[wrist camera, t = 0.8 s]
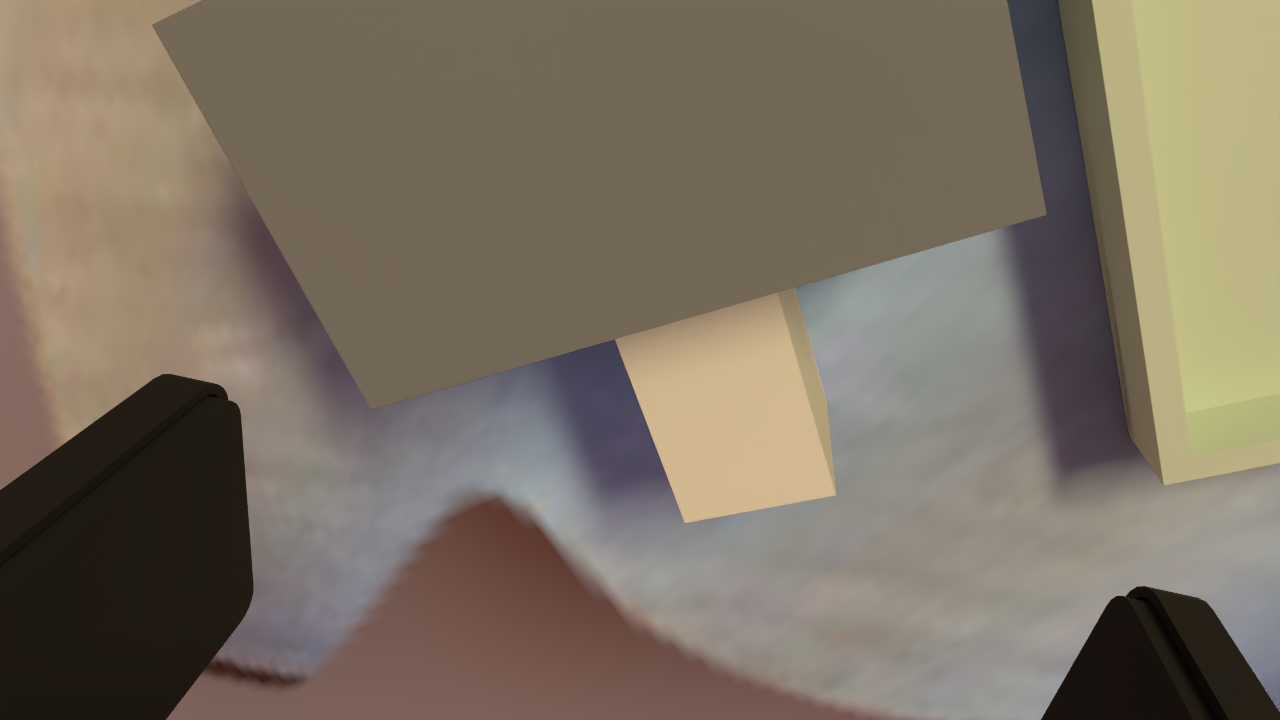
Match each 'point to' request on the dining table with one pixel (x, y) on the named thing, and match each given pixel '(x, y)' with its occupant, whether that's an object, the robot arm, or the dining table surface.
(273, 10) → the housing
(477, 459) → the dining table surface
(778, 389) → the tan cardboard box
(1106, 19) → the tray
